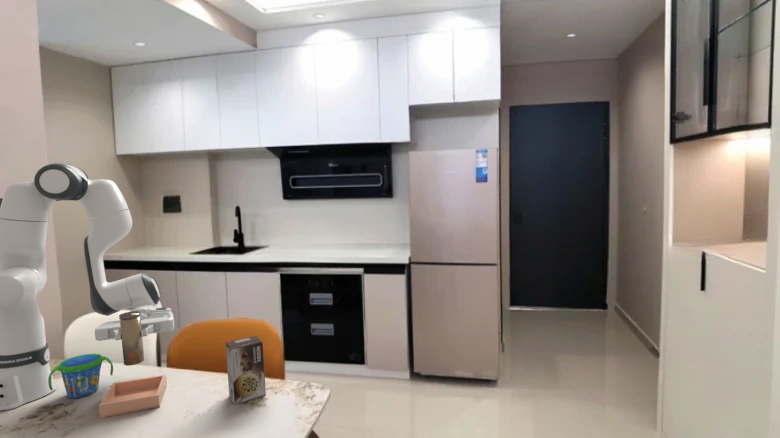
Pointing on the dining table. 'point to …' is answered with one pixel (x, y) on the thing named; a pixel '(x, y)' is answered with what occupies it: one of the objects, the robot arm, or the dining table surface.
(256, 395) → the coffee box
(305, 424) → the dining table surface
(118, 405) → the terracotta tray
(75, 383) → the snack cup
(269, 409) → the dining table surface
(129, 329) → the bronze tin
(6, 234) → the robot arm
